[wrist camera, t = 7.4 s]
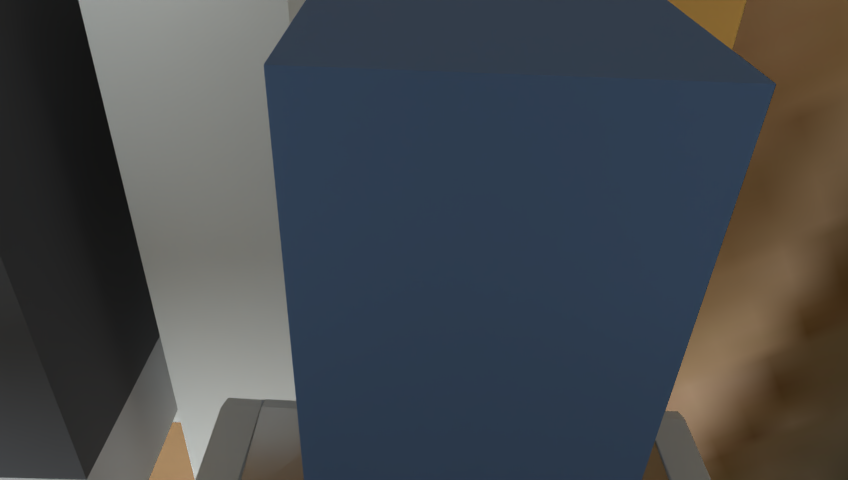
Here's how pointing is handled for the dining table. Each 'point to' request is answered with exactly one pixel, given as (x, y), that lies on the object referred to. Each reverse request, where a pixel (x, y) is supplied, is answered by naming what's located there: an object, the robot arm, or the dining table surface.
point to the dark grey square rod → (69, 269)
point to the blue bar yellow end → (499, 228)
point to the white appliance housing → (217, 184)
